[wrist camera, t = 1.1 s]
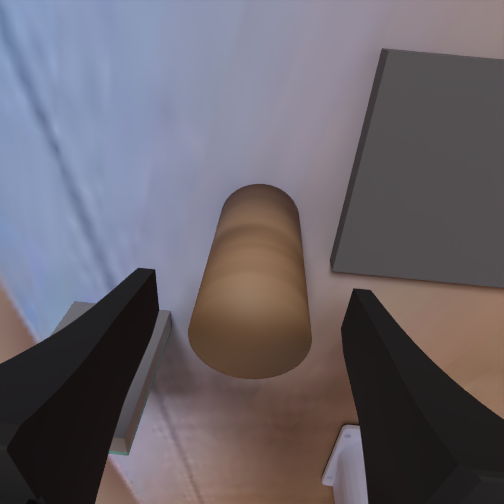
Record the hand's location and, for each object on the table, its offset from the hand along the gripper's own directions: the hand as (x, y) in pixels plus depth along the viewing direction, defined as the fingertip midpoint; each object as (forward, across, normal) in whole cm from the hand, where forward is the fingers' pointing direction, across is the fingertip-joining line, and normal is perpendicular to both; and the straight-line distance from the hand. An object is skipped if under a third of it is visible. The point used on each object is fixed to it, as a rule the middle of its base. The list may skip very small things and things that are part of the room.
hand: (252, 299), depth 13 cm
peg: (+6, 0, 0) cm, 6 cm away
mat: (+6, -9, -3) cm, 11 cm away
